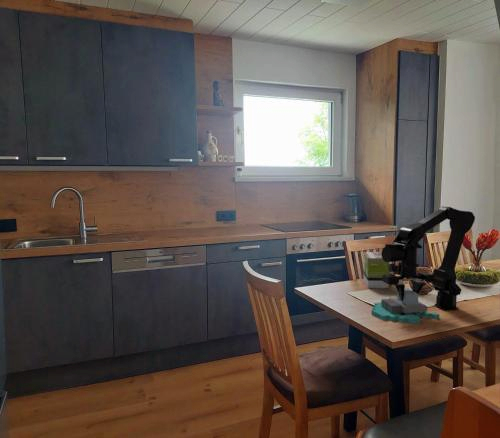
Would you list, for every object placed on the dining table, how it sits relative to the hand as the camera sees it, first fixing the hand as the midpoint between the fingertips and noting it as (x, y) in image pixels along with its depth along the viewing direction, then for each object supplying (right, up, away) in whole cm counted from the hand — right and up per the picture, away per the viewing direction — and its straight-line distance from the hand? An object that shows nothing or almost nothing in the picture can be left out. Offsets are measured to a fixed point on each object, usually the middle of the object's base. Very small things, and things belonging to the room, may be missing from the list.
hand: (407, 300), depth 151 cm
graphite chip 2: (-6, -4, -3) cm, 8 cm away
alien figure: (-4, -6, 0) cm, 7 cm away
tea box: (+1, -1, +41) cm, 41 cm away
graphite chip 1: (-7, -3, +2) cm, 8 cm away
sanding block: (0, -3, 0) cm, 3 cm away
